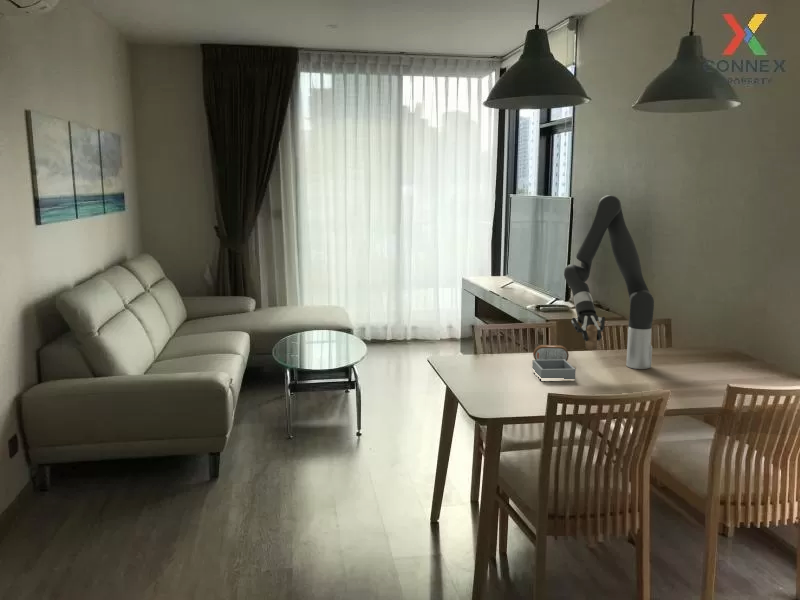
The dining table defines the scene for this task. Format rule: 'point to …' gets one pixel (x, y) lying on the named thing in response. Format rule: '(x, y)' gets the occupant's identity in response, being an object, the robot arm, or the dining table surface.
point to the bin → (553, 369)
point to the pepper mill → (591, 337)
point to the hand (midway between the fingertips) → (593, 339)
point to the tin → (550, 352)
